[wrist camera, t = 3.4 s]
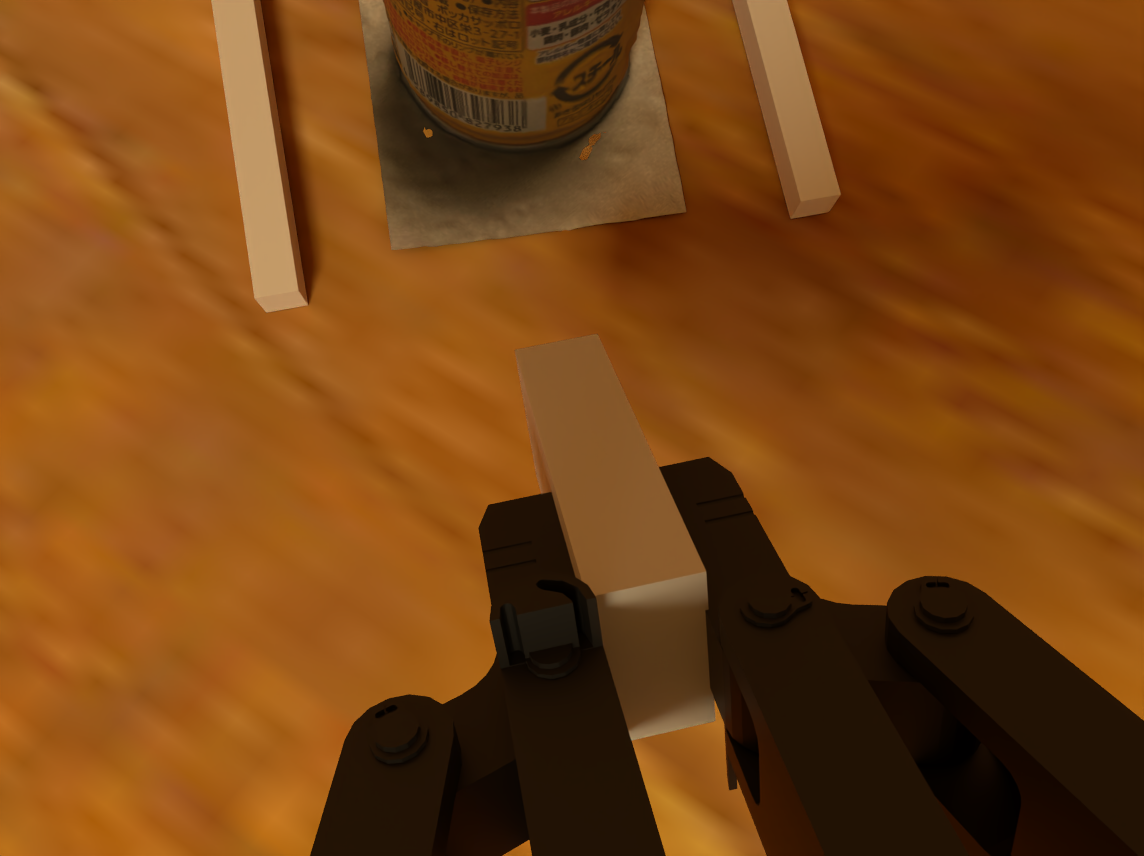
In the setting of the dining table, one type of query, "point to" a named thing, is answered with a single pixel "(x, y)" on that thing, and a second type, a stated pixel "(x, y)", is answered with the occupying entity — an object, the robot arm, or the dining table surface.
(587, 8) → the condiment
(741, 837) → the dining table surface
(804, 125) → the t outline
